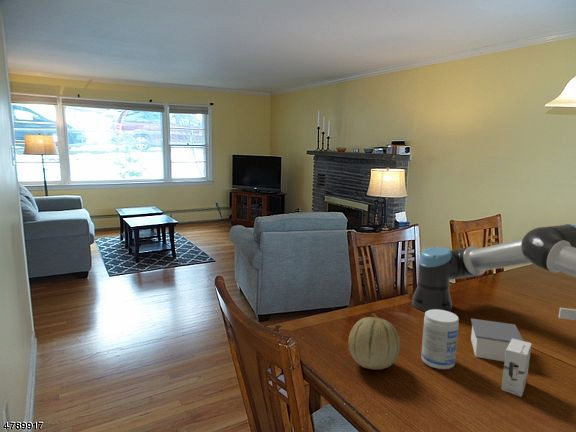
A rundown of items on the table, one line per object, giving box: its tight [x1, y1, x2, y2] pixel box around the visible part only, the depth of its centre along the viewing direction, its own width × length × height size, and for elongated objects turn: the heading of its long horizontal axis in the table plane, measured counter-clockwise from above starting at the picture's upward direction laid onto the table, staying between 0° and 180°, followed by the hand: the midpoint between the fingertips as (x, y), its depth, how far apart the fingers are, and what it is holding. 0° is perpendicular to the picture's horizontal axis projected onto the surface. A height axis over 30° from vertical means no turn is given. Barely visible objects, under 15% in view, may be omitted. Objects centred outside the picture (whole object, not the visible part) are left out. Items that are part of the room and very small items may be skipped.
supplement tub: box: [420, 309, 460, 370], centre depth 115 cm, size 10×10×15 cm
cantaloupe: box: [348, 313, 401, 370], centre depth 112 cm, size 15×15×15 cm
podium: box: [470, 318, 524, 363], centre depth 123 cm, size 13×13×7 cm
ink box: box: [501, 338, 532, 397], centre depth 104 cm, size 9×5×12 cm, turn 141°
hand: (568, 323), depth 98 cm, fingers open, 13 cm apart
